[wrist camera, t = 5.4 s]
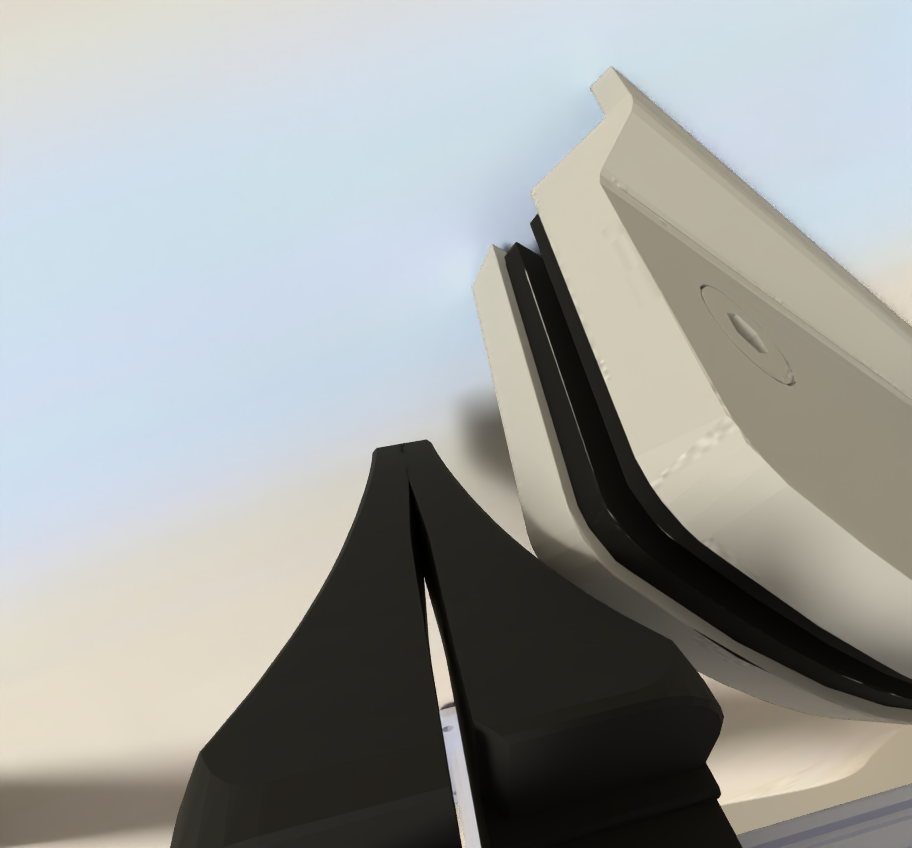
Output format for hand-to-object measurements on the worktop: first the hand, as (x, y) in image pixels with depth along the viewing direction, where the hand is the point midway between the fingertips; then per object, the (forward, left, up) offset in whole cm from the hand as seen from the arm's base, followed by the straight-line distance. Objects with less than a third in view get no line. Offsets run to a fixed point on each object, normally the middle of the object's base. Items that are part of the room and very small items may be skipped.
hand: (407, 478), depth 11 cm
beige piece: (0, -10, -3) cm, 10 cm away
